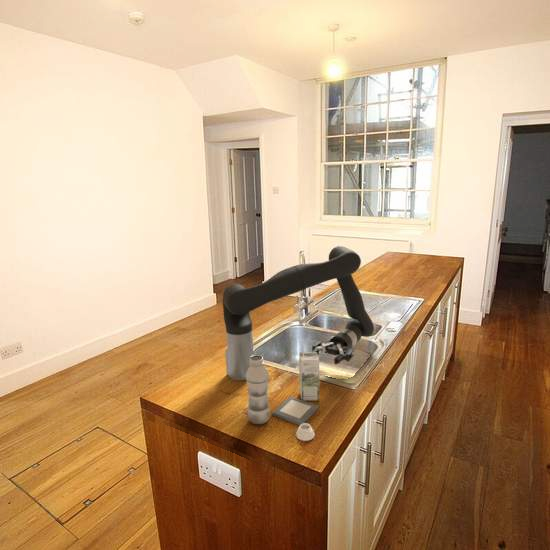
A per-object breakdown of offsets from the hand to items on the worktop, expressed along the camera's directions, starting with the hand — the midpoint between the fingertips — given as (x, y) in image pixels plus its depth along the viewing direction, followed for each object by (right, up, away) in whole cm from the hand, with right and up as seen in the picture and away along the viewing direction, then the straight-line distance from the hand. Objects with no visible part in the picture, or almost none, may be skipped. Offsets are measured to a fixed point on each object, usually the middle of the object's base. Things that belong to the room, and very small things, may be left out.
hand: (323, 358), depth 129 cm
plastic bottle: (-21, -14, -18) cm, 31 cm away
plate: (-10, -13, -14) cm, 22 cm away
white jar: (-8, -16, -25) cm, 30 cm away
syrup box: (-5, -11, -6) cm, 14 cm away
